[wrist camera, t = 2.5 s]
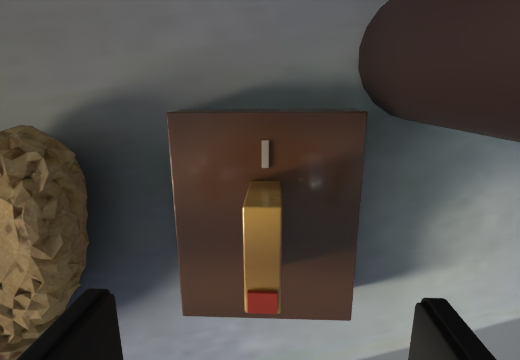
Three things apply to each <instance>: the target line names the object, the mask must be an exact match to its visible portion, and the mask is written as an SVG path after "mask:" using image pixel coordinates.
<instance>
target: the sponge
mask: <svg viewBox="0 0 520 360" xmlns="http://www.w3.org/2000/svg"><path fill="white" fill-rule="evenodd" d="M86 205H87V189H86V180H85V177H84V175H83V173H82V171H81V169H80V167H79V163H78V161H77V159H76V154H75V153H73V152H72V151H71V150H70V149H69V148H67V147H66V146H65V145H64V144H62V143H61V142H60V141H58V140H56V139H54V138H52V137H50V136H48V135H47V134H45V133H43V132H41V131H40V130H38V129H36V128H35V127H33V126H23V125H20V126H16V127H13V128H10V129H7V130H4V131H1V132H0V360H16V359H17V358H18V357H19V356H20V355H21V354H22V353H23V352H24V351H25V350H26V349H27V348H28V347H29V346H30V345H32V344H33V343H34V342H35V341H36V340H37V339H38V338H39V337H40V336H41V335H42V334H43V333H44V332H45V331H46V330H47V329H48V328H49V327H50V326H51V325H52V324H53V323H54V322H55V321H56V320H57V319H58V318H59V317H60V316H61V315H62V314H63V312H64V311H65V309H66V307H67V305H68V303H69V299H70V298H71V296H72V295H73V293H74V292H75V290H76V289H77V287H79V286H81V284H80V282H79V280H80V275H81V273H82V272H83V271H84V269H85V268H86V249H87V246H88V243H89V239H88V234H87V230H86V221H87V217H88V212H87V209H86Z"/></svg>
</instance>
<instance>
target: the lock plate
mask: <svg viewBox="0 0 520 360" xmlns="http://www.w3.org/2000/svg"><path fill="white" fill-rule="evenodd" d="M367 114H368V113H367V112H366V111H361V110H356V109H186V110H178V111H172V112H167V113H166V116H167V128H168V141H169V153H170V165H171V177H172V190H173V202H174V214H175V226H176V239H177V251H178V263H179V275H180V287H181V300H182V312H183V316H206V317H242V318H277V319H312V320H347V321H350V320H351V313H352V300H353V288H354V275H355V263H356V251H357V238H358V226H359V213H360V201H361V189H362V176H363V164H364V151H365V139H366V127H367ZM250 181H280V182H281V197H282V256H281V312H280V313H279V314H278V313H277V314H263V313H246V312H245V303H244V258H243V212H242V208H243V204H244V201H245V198H246V194H247V191H248V188H249V184H250Z"/></svg>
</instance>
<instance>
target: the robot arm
mask: <svg viewBox="0 0 520 360" xmlns="http://www.w3.org/2000/svg"><path fill="white" fill-rule="evenodd" d="M16 360H123V354H122V347H121V340H120V332H119V325H118V318H117V310H116V303H115V297H114V295H113V294H110V292H109V290H107V289H87V290H86V291H85V292H84V293H83V294H82V295H81V296H80V297H79V298H78V299H77V300H76V301H75V302H74V303H73V304H72V305H71V306H70V307H69V308H68V309H67V310H66V311H65V312H64V313H63V314H62V315H61V316H60V317H59V318H58V319H57V320H56V321H55V322H54V323H53V324H52V325H51V326H50V327H49V328H48V329H47V330H46V331H45V332H44V333H43V334H42V335H41V336H40V337H39V338H38V339H37V340H36V341H35V342H34V343H33V344H32V345H30V346H29V347H28V348H27V349H26V350H25V351H24V352H23V353H22V354H21V355H20V356H19V357H18V358H17V359H16ZM408 360H496V359H495V357H494V356H493V355H492V354H491V353H490V352H489V351H488V349H487V348H486V347H485V346H484V345H483V343H482V342H481V341H480V340H479V339H478V338H477V336H476V335H475V334H474V333H473V331H472V330H471V329H470V328H469V327H468V325H467V324H466V323H465V322H464V321H463V319H462V318H461V317H460V316H459V315H458V313H457V312H456V311H455V310H454V309H453V307H452V306H451V305H450V304H449V303H448V301H447V300H445V299H443V298H423V299H422V301H421V303H417V304H416V306H415V313H414V320H413V328H412V335H411V343H410V351H409V358H408Z"/></svg>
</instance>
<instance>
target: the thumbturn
mask: <svg viewBox="0 0 520 360" xmlns="http://www.w3.org/2000/svg"><path fill="white" fill-rule="evenodd" d="M242 212H243V258H244V303H245V312H246V313H263V314H277V313H278V314H279V313H280V312H281V256H282V197H281V182H280V181H250V184H249V188H248V191H247V194H246V198H245V201H244V204H243V208H242Z"/></svg>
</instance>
